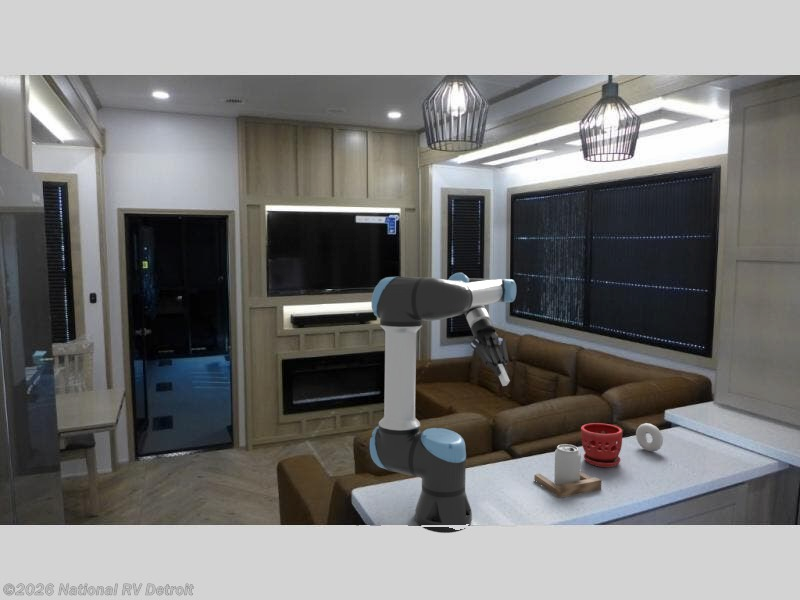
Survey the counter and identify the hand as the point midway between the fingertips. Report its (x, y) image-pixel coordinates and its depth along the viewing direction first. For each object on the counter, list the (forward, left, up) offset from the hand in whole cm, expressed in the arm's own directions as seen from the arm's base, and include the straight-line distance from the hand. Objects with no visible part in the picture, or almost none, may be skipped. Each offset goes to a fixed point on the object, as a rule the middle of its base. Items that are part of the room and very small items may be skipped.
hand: (506, 383), depth 166 cm
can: (+14, -13, -30) cm, 36 cm away
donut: (+59, 0, -30) cm, 66 cm away
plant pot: (+36, -2, -30) cm, 47 cm away
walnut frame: (+14, -13, -30) cm, 35 cm away
